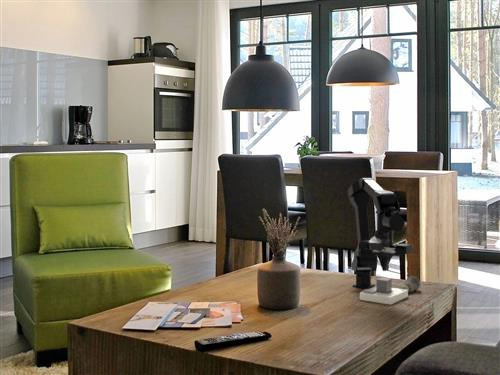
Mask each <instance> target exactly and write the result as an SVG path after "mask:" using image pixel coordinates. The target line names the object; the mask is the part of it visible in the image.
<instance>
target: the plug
mask: <svg viewBox="0 0 500 375" xmlns="http://www.w3.org/2000/svg"><path fill="white" fill-rule="evenodd" d="M392 280H393V278H388V277H379V278H377V279H376V283H375V286H376V292H379V293H385V294H389V293H391V292H392V288H393V287H392V286H393V285H392V283H393V281H392Z"/></svg>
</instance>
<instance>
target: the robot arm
mask: <svg viewBox="0 0 500 375" xmlns="http://www.w3.org/2000/svg"><path fill="white" fill-rule="evenodd" d="M347 194H348V198H349V203H350V204H351V205H352V206H353V208H354V213H355V225H356V236H357V247H356V249H355V250H354V257H353V259H352V262H350V268H351V270H352V271H353V272H355V283H353V284H352V285H351V286H352V287H358V288H364V289H370V288H373V287H375V286H376V283H372V272H376V271H377V267H378V262H379V264H380V267H381V270H382V271H383V272H386V271H387V270H388V267H389V264H390V262H391V260H392V258H393V257H394V256H395V254H397V255H398V254H399V255H409V254H411V253H413V247H412V245H411V244H410V243H409V244H408V243H399V244H396V245H395V241H394V234H395V232H400V231H402V230H403V229H404V226H405V224H406V223H405V220H404V219H405V218H403V216H402V215H400V213H401V205H400V202H399V201H398V197H397V196H396V194H395V192H393V191H390V190H385V189H383V187H381V186H380V185H379V184H378V183H377V182H376V181H375V179H374V178H372V177H362V178H360V179H358V180H357V181H356V182H354V183H352V184H351V185H350V186H349V188H348V190H347ZM371 198H372V199H373V202H372V204H373V205H374V208H375V209H376V210H375V214H376V230H374V236H372V237H371V235H370V223H369V214H368V213H369V212H368V206H369V203H370V202H371Z"/></svg>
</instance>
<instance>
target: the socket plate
mask: <svg viewBox="0 0 500 375" xmlns="http://www.w3.org/2000/svg"><path fill="white" fill-rule="evenodd" d="M408 294H409V292H408V290H404V289H401V288H397V287H392V292H391V293H389V294H385V293H379V292H376V285H374V286H372V287H369V288H365V289H364V290H362V291H361V292H359V300H361V301H366V302H371V303H378V304H386V305H393V304H395V303H397V302H400V301H401V300H405V299H406V298H408V297H409V296H408Z"/></svg>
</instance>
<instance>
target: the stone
mask: <svg viewBox="0 0 500 375" xmlns="http://www.w3.org/2000/svg"><path fill="white" fill-rule="evenodd" d="M420 287H421V281H420V279H419V277H417V276H412V275H411V276H408V277H407V278H406V279H405V281H404V284H403V285H402V286H401V287H400V289H404V290H408V293H413V292H414V291H417V290H419V289H420Z"/></svg>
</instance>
